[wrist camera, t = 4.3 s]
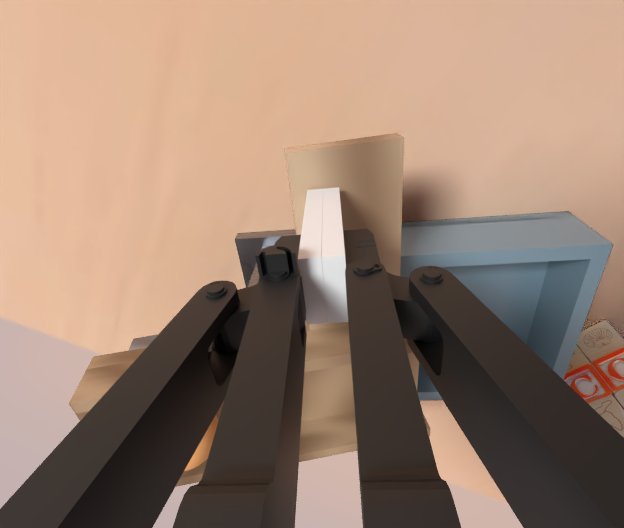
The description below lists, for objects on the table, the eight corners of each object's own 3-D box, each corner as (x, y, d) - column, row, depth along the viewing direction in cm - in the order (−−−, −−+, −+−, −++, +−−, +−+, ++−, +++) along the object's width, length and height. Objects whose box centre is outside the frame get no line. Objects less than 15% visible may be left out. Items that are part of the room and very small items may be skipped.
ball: (122, 429, 20) (175, 456, 18) (174, 376, 23) (224, 395, 21) (146, 469, 22) (196, 497, 20) (191, 416, 25) (238, 436, 23)
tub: (385, 356, 35) (392, 401, 30) (385, 223, 27) (394, 256, 23) (528, 352, 33) (556, 397, 29) (568, 211, 26) (613, 243, 22)
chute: (153, 411, 29) (130, 495, 23) (32, 169, 19) (-58, 217, 13) (397, 366, 30) (429, 436, 25) (404, 119, 20) (460, 144, 15)
